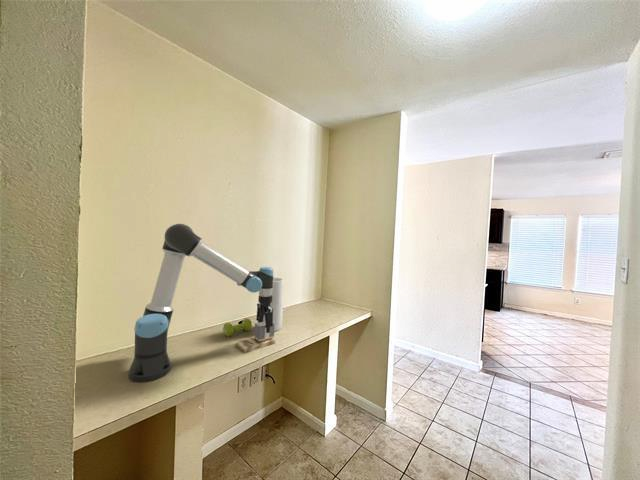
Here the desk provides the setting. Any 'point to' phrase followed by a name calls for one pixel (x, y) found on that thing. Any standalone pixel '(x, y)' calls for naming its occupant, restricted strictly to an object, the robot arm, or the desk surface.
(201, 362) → the desk surface
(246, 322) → the dumbbell
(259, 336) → the block
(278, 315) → the vase
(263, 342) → the board
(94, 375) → the desk surface
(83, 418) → the desk surface
